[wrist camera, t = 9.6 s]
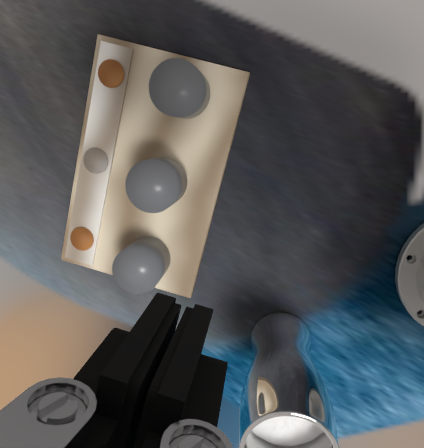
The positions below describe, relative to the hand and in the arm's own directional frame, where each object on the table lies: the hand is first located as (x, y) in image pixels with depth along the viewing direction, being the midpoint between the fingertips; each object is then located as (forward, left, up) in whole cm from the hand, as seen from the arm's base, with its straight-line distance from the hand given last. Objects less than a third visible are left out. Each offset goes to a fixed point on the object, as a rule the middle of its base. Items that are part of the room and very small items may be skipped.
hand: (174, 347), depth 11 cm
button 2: (+7, +8, -26) cm, 28 cm away
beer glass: (-8, +13, -27) cm, 31 cm away
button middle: (+7, 0, -25) cm, 26 cm away
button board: (+9, 0, -27) cm, 29 cm away
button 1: (+7, -8, -26) cm, 28 cm away
